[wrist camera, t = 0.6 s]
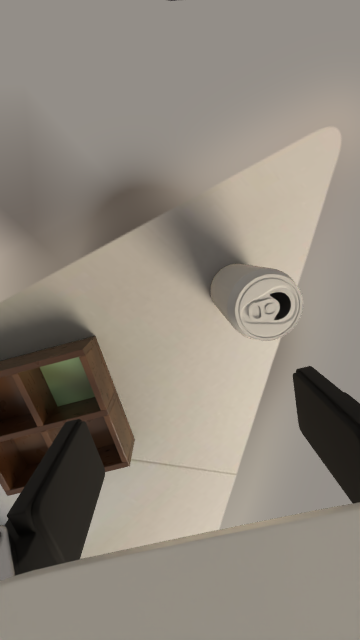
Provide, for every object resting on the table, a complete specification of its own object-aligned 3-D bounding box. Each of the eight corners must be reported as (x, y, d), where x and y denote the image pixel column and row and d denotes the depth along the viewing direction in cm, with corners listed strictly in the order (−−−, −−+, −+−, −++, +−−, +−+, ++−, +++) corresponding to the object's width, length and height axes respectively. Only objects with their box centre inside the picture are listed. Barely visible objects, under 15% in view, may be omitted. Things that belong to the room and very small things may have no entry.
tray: (-26, 367, 33) (-59, 386, 28) (95, 335, 32) (82, 349, 28) (27, 466, 38) (7, 496, 33) (135, 439, 37) (129, 466, 32)
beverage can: (262, 305, 32) (313, 334, 20) (215, 318, 32) (239, 353, 21) (253, 257, 30) (303, 259, 19) (203, 271, 31) (223, 281, 19)
